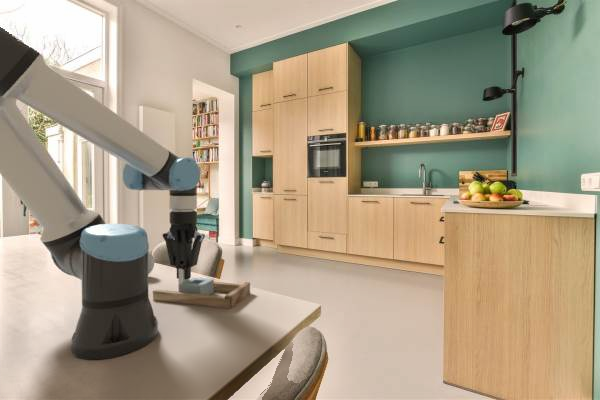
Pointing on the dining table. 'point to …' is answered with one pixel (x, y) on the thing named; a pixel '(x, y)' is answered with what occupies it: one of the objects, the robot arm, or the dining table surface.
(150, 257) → the donut
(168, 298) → the track
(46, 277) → the dining table surface
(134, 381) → the dining table surface
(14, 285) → the dining table surface
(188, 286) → the block
